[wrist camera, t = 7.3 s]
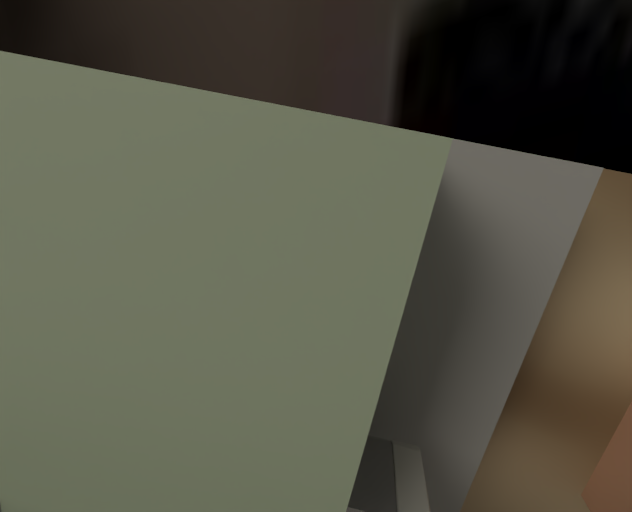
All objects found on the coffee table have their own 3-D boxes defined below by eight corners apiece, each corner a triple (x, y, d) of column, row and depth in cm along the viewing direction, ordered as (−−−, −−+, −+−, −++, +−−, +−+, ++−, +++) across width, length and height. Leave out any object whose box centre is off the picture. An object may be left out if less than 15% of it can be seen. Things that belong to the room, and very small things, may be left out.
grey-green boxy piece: (198, 89, 8) (-53, 39, 3) (558, 159, 7) (885, 222, 3) (165, 521, 12) (32, 783, 7) (399, 581, 11) (421, 901, 7)
